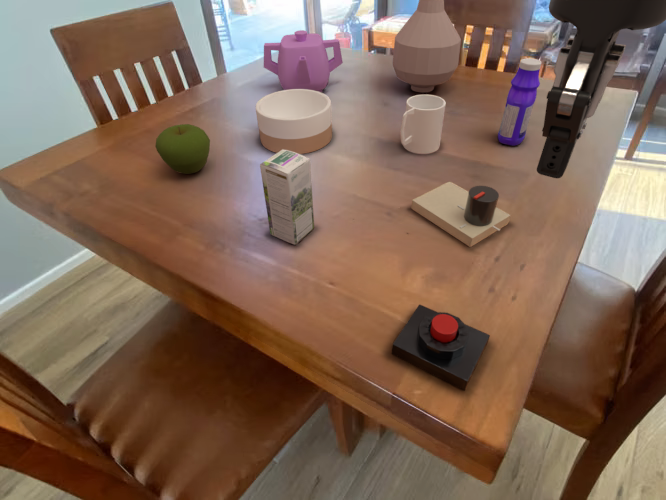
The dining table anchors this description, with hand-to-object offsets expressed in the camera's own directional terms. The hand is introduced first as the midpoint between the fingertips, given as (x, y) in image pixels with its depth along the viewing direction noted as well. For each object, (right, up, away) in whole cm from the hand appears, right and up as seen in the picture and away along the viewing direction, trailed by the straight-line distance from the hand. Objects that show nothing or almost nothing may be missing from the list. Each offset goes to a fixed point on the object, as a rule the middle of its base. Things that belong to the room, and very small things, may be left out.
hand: (550, 172), depth 39 cm
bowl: (-28, +20, +65) cm, 73 cm away
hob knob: (+6, -1, +36) cm, 36 cm away
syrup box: (-27, -4, +38) cm, 46 cm away
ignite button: (-6, -17, +16) cm, 24 cm away
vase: (+6, +39, +85) cm, 94 cm away
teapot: (-28, +41, +88) cm, 101 cm away
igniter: (-6, -20, +18) cm, 28 cm away
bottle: (+21, +18, +60) cm, 66 cm away
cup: (-1, +16, +59) cm, 61 cm away
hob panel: (+3, -1, +40) cm, 40 cm away
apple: (-50, +10, +55) cm, 75 cm away
